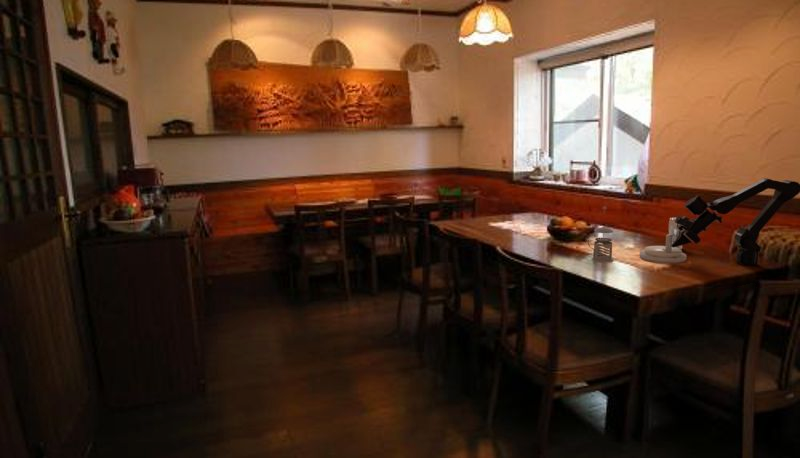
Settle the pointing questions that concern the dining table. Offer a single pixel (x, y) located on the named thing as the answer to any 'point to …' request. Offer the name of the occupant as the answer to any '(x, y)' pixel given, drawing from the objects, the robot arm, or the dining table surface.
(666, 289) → the dining table surface
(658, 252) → the dial
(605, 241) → the french press
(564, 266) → the dining table surface
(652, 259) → the base
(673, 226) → the beer glass
